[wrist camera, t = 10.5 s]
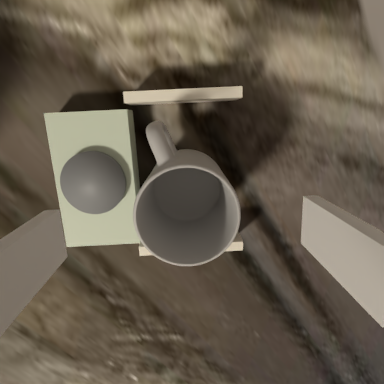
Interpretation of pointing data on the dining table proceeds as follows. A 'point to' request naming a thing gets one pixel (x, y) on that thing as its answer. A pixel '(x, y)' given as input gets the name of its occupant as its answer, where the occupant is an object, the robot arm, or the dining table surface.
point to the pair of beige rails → (109, 166)
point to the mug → (184, 204)
